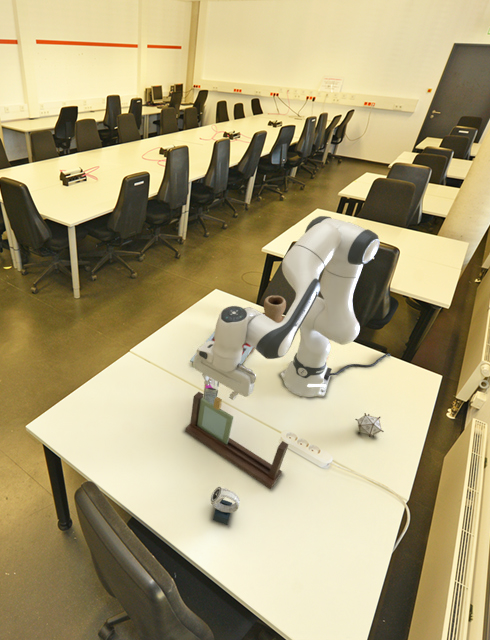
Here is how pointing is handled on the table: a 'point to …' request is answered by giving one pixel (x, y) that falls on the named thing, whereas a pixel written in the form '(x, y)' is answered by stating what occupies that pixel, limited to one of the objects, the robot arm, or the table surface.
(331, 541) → the table surface
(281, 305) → the stone cup
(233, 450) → the window frame
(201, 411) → the window pane
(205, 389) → the candy bar box
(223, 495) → the watch
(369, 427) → the game die
